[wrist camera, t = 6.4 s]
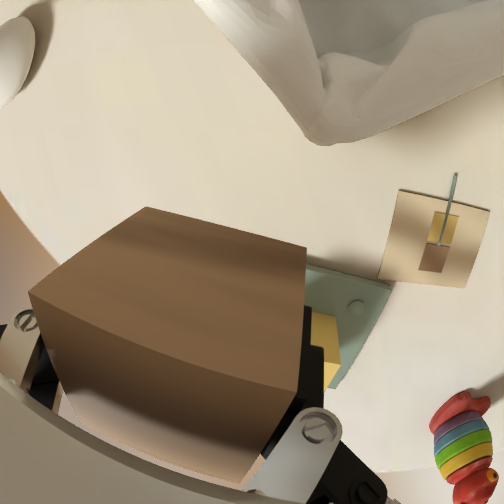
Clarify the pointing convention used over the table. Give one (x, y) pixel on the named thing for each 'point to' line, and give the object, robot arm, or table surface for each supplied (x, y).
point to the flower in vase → (15, 56)
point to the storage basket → (364, 57)
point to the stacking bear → (465, 448)
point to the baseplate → (345, 308)
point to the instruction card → (432, 240)
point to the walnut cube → (178, 338)
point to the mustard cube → (326, 343)
